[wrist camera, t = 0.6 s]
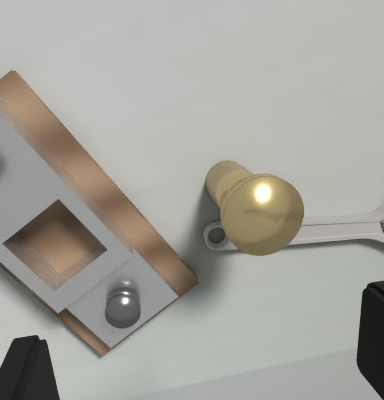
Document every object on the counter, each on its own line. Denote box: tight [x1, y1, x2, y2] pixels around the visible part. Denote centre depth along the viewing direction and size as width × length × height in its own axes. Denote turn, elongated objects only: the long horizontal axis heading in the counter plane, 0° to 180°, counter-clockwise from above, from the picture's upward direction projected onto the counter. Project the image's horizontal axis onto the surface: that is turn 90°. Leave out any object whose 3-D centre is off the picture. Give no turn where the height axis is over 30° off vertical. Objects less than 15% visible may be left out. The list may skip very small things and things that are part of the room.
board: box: [0, 71, 199, 356], centre depth 32 cm, size 24×12×1 cm, turn 37°
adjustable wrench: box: [203, 204, 384, 251], centre depth 36 cm, size 25×6×2 cm, turn 86°
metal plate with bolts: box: [0, 98, 178, 348], centre depth 29 cm, size 22×8×5 cm, turn 37°
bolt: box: [206, 161, 304, 256], centre depth 29 cm, size 6×6×10 cm
